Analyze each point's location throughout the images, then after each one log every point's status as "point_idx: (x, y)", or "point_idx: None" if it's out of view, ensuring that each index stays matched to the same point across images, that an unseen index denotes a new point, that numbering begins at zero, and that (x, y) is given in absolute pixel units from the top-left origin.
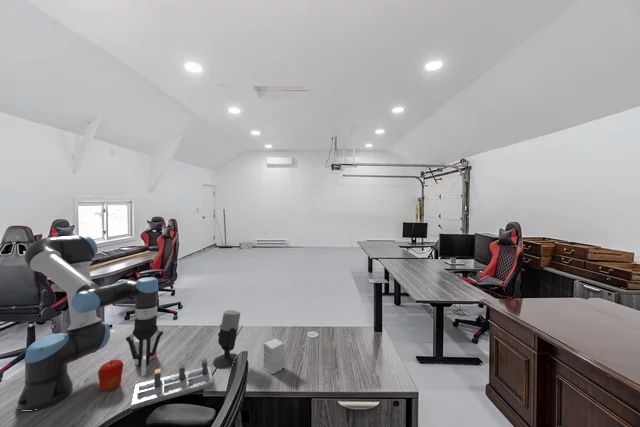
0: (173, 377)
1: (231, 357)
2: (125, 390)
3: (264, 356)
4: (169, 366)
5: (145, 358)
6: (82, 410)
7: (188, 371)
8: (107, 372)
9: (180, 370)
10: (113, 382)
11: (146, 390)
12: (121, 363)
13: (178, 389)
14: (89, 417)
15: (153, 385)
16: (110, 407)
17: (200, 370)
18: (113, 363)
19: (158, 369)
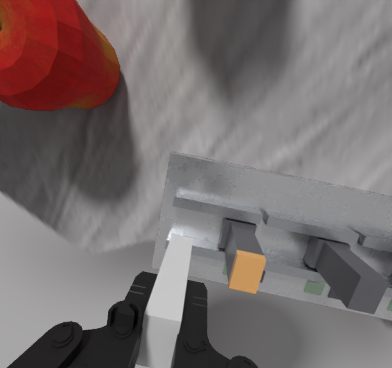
0: (303, 232)
1: None
2: (141, 135)
3: None
4: (324, 48)
5: (166, 360)
6: (30, 167)
7: (373, 197)
8: (3, 101)
9: (345, 301)
10: (81, 105)
11: (195, 254)
12: (56, 51)
13: (293, 289)
14: (56, 216)
15: (222, 235)
16: (102, 206)
17: None
18: (2, 18)
19: (252, 265)
